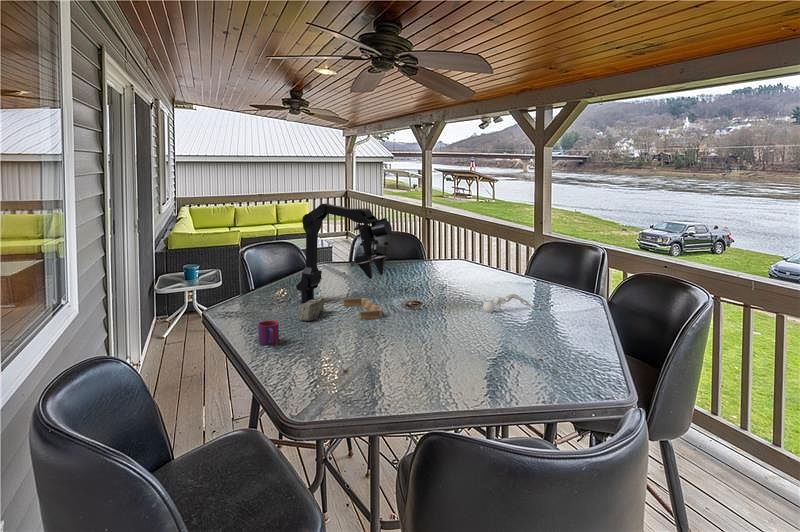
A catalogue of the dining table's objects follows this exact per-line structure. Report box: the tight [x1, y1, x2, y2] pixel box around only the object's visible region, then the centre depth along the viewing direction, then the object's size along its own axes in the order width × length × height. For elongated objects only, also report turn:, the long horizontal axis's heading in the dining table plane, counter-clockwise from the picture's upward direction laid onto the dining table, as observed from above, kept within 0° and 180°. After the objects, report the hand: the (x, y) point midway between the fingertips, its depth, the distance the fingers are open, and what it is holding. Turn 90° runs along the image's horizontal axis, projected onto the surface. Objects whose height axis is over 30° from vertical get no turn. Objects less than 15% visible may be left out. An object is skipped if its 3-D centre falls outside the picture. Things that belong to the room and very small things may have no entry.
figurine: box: [482, 293, 541, 313], centre depth 221 cm, size 9×10×25 cm
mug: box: [257, 320, 280, 346], centre depth 173 cm, size 7×10×7 cm
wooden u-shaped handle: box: [342, 297, 383, 321], centre depth 215 cm, size 23×10×3 cm, turn 24°
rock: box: [296, 296, 325, 322], centre depth 206 cm, size 17×7×10 cm
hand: (376, 276), depth 210 cm, fingers open, 9 cm apart
